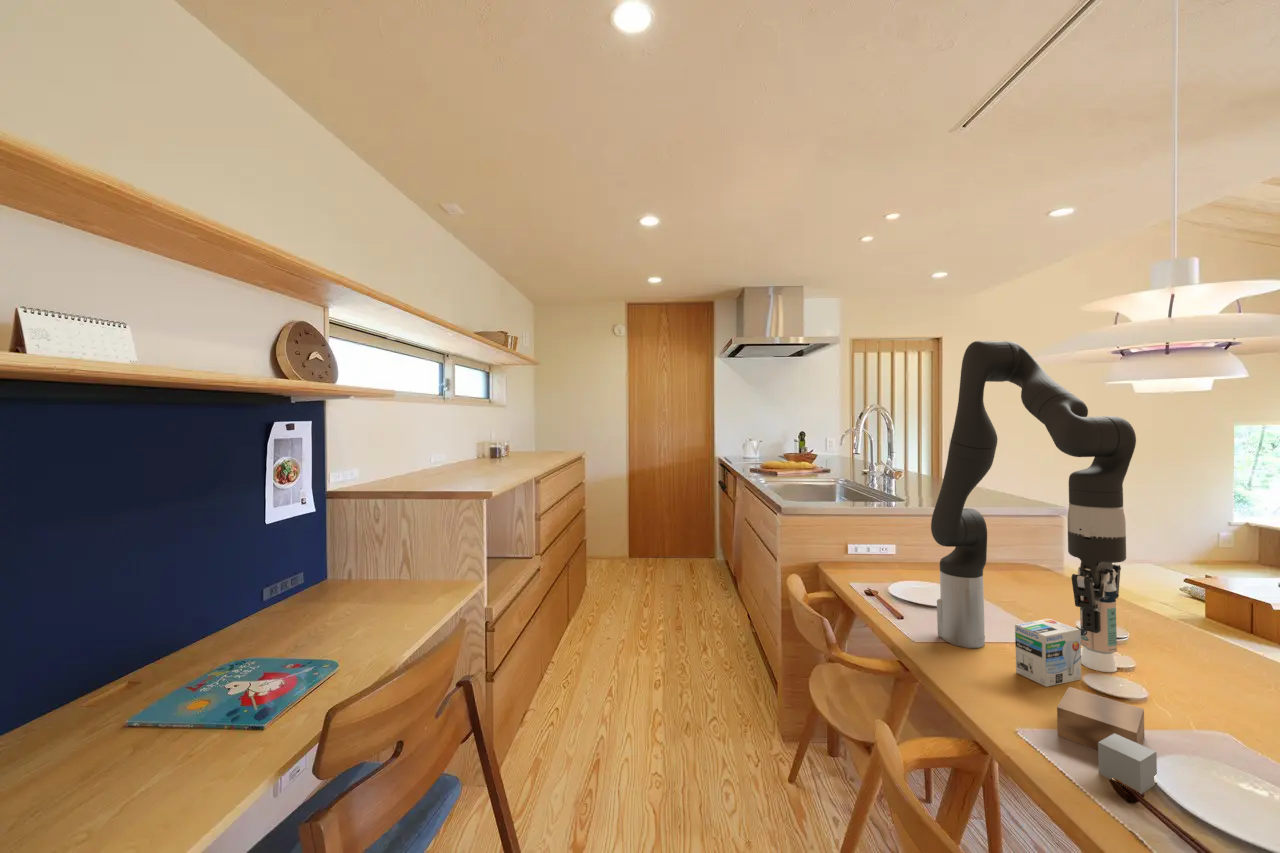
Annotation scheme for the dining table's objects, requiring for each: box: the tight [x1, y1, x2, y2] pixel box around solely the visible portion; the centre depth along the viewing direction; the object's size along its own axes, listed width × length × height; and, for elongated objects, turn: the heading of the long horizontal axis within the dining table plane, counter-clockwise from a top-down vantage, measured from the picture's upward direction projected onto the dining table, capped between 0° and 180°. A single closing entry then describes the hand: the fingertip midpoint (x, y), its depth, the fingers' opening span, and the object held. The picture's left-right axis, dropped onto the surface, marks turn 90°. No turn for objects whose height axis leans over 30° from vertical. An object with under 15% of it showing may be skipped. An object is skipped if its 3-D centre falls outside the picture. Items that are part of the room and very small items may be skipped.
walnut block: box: [1056, 686, 1145, 751], centre depth 87 cm, size 10×10×5 cm
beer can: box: [1079, 582, 1118, 654], centre depth 87 cm, size 5×5×12 cm
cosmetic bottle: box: [1081, 646, 1118, 673], centre depth 111 cm, size 6×6×22 cm
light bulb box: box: [1014, 618, 1082, 688], centre depth 108 cm, size 11×7×11 cm, turn 106°
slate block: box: [1097, 733, 1158, 795], centre depth 77 cm, size 5×5×5 cm
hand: (1097, 627), depth 87 cm, fingers closed on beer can, 4 cm apart
